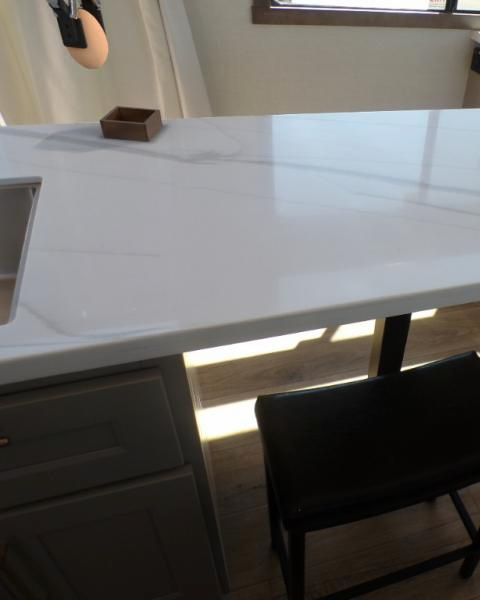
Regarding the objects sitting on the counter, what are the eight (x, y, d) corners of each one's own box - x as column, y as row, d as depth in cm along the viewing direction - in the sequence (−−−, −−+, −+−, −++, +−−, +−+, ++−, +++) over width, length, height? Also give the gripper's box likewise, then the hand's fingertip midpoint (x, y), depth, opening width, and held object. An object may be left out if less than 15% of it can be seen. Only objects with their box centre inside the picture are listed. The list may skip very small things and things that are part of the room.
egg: (102, 75, 79) (88, 14, 74) (63, 71, 79) (47, 9, 74) (119, 66, 84) (107, 7, 79) (83, 61, 83) (68, 2, 78)
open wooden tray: (103, 137, 100) (99, 120, 98) (120, 122, 106) (116, 105, 104) (149, 141, 100) (145, 124, 98) (162, 126, 107) (159, 109, 105)
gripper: (53, -111, 74) (86, 27, 85) (-21, -112, 61) (29, 53, 72) (107, -104, 75) (133, 33, 86) (46, -103, 62) (86, 59, 73)
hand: (85, 41), depth 79 cm, fingers closed on egg, 5 cm apart
